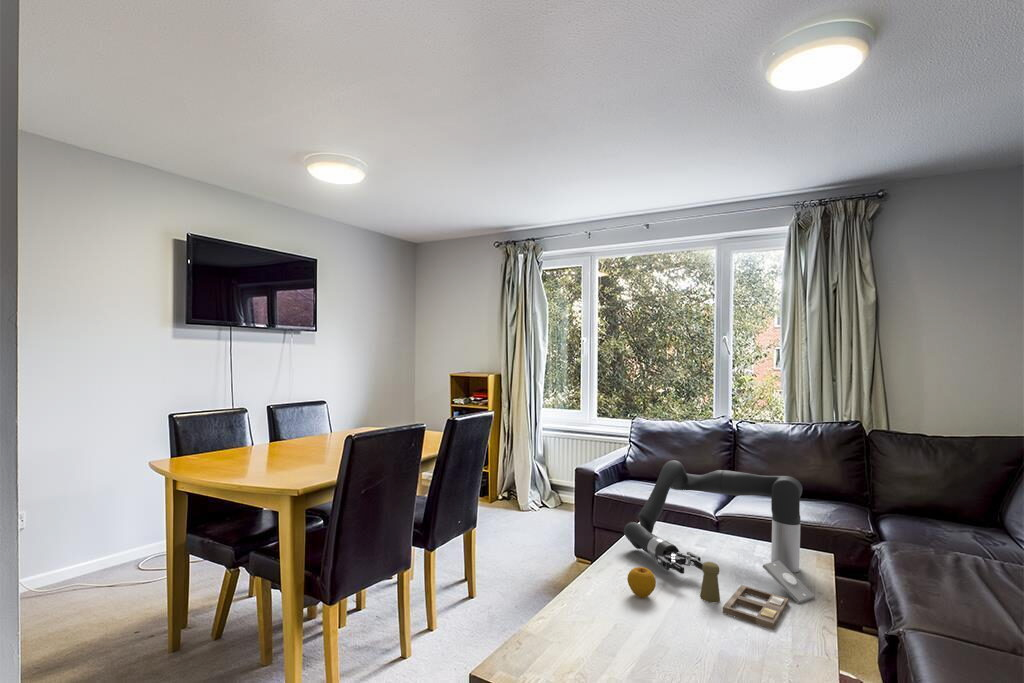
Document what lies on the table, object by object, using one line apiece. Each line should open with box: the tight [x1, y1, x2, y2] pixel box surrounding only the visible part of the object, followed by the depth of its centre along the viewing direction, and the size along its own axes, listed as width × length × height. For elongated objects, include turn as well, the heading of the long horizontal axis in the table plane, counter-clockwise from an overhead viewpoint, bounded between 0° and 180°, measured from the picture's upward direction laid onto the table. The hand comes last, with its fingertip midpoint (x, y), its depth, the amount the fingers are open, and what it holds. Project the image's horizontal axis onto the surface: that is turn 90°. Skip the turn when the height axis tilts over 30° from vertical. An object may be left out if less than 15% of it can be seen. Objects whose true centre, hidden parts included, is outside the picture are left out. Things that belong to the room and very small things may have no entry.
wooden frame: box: [722, 584, 789, 630], centre depth 159 cm, size 20×14×2 cm
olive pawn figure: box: [699, 561, 721, 603], centre depth 165 cm, size 6×6×11 cm
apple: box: [626, 566, 657, 599], centre depth 165 cm, size 9×9×9 cm
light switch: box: [762, 560, 816, 604], centre depth 171 cm, size 8×6×14 cm
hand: (693, 569), depth 172 cm, fingers open, 8 cm apart
